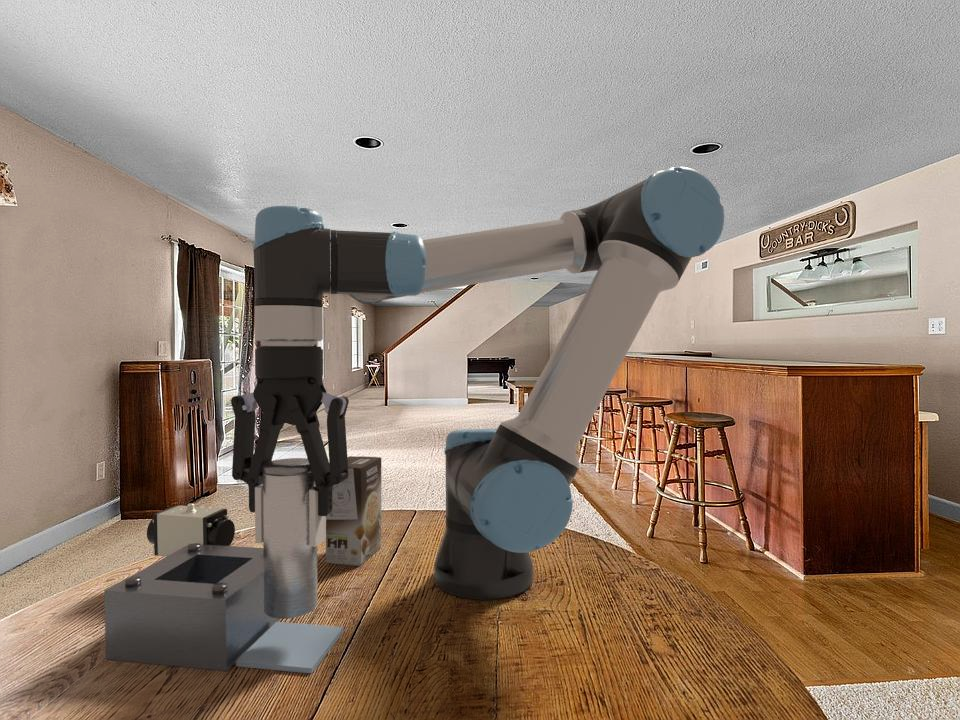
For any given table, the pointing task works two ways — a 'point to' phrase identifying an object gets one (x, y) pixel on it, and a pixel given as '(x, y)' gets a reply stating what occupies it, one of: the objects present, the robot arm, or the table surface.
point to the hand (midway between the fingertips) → (290, 540)
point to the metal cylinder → (288, 539)
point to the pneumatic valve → (189, 528)
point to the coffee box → (355, 514)
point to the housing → (189, 609)
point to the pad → (291, 647)
